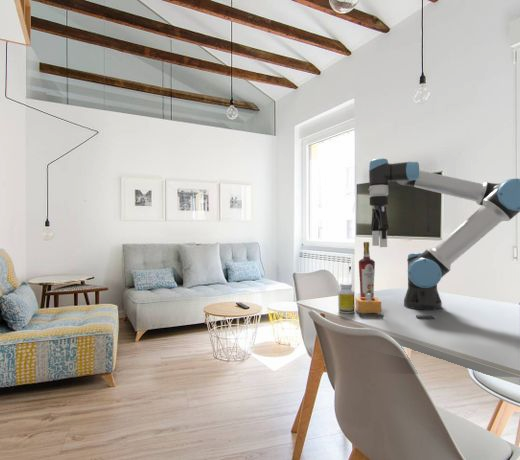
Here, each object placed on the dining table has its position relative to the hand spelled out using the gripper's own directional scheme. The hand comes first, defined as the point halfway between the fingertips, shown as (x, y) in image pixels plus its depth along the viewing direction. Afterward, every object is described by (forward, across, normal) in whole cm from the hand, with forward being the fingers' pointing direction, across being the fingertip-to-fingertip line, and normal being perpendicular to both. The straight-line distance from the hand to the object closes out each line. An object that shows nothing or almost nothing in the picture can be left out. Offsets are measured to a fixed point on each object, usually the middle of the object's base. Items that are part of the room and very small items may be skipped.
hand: (379, 246), depth 151 cm
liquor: (+27, -17, -2) cm, 32 cm away
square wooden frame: (+26, +7, -6) cm, 27 cm away
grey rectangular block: (+27, +14, +13) cm, 33 cm away
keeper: (+27, +7, -6) cm, 28 cm away
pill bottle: (+27, +5, -15) cm, 31 cm away
